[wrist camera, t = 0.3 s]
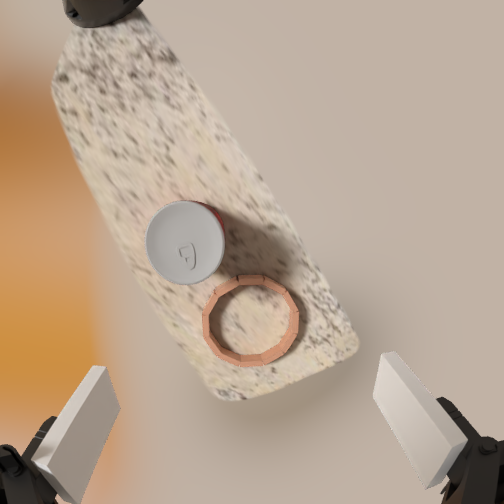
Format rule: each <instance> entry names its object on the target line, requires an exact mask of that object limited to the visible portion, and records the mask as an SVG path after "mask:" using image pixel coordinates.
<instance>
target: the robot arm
mask: <svg viewBox="0 0 504 504" xmlns="http://www.w3.org/2000/svg"><path fill="white" fill-rule="evenodd" d="M142 1H143V0H63V6H64V11H65V14H66V15H67V17H68V18H69V19H70V20H71V21H72V23H74V24H75V25H77V26H80V27H97V26H101V25H105V24H108V23H110V22H113V21H115V20H117V19H119V18H121V17H123V16H125V15H126V14H128V13H129V12H131V11H132V10H134V9H135V8H136V7H137V6H138V5H140V4H141V2H142ZM373 398H374V400H375V402H376V403H377V405H378V407H379V408H380V410H381V412H382V414H383V415H384V417H385V419H386V420H387V422H388V424H389V426H390V427H391V429H392V431H393V433H394V434H395V436H396V438H397V440H398V441H399V443H400V445H401V447H402V448H403V450H404V452H405V454H406V455H407V457H408V459H409V461H410V462H411V464H412V466H413V468H414V470H415V472H416V473H417V475H418V477H419V479H420V481H421V482H422V484H423V486H424V488H425V489H428V488H430V487H433V486H435V485H437V484H439V483H441V482H442V481H443V479H444V478H445V476H446V475H447V476H448V477H449V479H450V480H449V482H448V483H447V484H446V486H445V487H444V488H443V490H442V491H441V494H443V493H444V492H445V494H444V497H443V500H442V503H441V504H504V440H503V441H499V442H498V441H497V440H495V439H494V438H491V437H488V436H487V437H481V436H480V435H479V434H478V433H477V431H476V430H475V429H474V428H473V427H472V426H471V424H470V423H469V422H468V421H467V419H466V418H465V417H464V416H462V414H461V412H460V411H458V409H457V408H456V407H455V406H454V404H453V403H452V402H451V401H449V400H447V399H446V398H444V397H441V398H437V399H435V398H434V397H433V395H432V394H431V393H430V392H429V391H428V389H427V388H426V387H425V386H424V385H423V383H422V382H421V381H420V380H419V379H418V377H417V376H416V375H415V374H414V373H413V371H412V370H411V369H410V368H409V367H408V366H407V364H406V363H405V362H404V361H403V360H402V359H401V357H400V356H399V355H398V354H397V353H396V352H395V351H392V352H387V353H382V354H381V358H380V363H379V369H378V373H377V378H376V383H375V387H374V392H373ZM119 411H120V405H119V403H118V400H117V397H116V394H115V392H114V389H113V386H112V383H111V380H110V377H109V374H108V370H107V367H105V366H92V368H91V369H90V370H89V372H88V373H87V375H86V376H85V378H84V379H83V381H82V382H81V384H80V385H79V386H78V388H77V389H76V391H75V392H74V394H73V395H72V397H71V398H70V400H69V401H68V402H67V404H66V405H65V407H64V408H63V410H62V411H61V413H60V415H59V416H58V417H54V416H51V417H50V418H49V419H47V420H46V421H45V422H44V423H43V424H42V426H41V427H40V429H39V431H38V432H37V433H36V435H35V438H33V439H32V441H31V442H30V444H29V445H28V447H27V448H26V450H25V452H24V453H23V455H22V456H20V455H19V453H18V452H17V450H16V449H15V448H14V447H13V446H11V445H8V444H5V445H0V504H58V502H57V501H56V499H55V497H56V495H57V494H58V495H59V496H60V497H61V498H62V499H63V500H64V501H66V502H69V503H72V504H80V503H81V500H82V498H83V495H84V493H85V490H86V488H87V485H88V483H89V480H90V478H91V475H92V473H93V470H94V468H95V465H96V463H97V461H98V459H99V456H100V454H101V451H102V449H103V447H104V445H105V442H106V440H107V438H108V436H109V433H110V431H111V428H112V426H113V424H114V422H115V420H116V418H117V415H118V413H119Z"/></svg>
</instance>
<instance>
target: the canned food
mask: <svg viewBox="0 0 504 504" xmlns="http://www.w3.org/2000/svg"><path fill="white" fill-rule="evenodd" d="M145 250H146V255H147V257H148V260H149V262H150V264H151V265H152V267H153V268H154V270H155V271H156V272H157V273H158V274H159V275H160V276H162V277H163V278H164V279H166V280H168V281H170V282H172V283H175V284H179V285H193V284H197V283H200V282H202V281H204V280H206V279H207V278H209V277H210V276H211V275H212V274H213V273H214V272H215V271H216V270H217V268H218V267H219V265H220V263H221V261H222V259H223V256H224V251H225V232H224V226H223V223H222V220H221V218H220V216H219V215H218V213H217V212H216V211H215V210H214V209H213V208H211V207H210V206H209V205H207V204H204V203H202V202H197V201H187V200H182V201H176V202H172V203H169V204H167V205H165V206H164V207H162V208H161V209H159V210H158V211H157V212H156V213H155V214H154V215H153V217H152V218H151V220H150V222H149V223H148V226H147V229H146V233H145Z"/></svg>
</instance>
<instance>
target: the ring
mask: <svg viewBox="0 0 504 504" xmlns="http://www.w3.org/2000/svg"><path fill="white" fill-rule="evenodd" d="M239 285H265V286H266V287H268V288H270V289H272V290H274V291H276V292H278V293H280V294H282V295H283V297H284V299H285V300H286V302H287V304H288V306H289V307H290V319H289V329H288V330H287V332H286V333H285V335H284V336H283V338H282V339H281V341H280V342H279V344H278V345H276V346H274V347H273V348H271V349H269V350H267V351H265V352H264V353H262V354H255V355H238V354H236V353H234V352H232V351H230V350H227V349H225V348H223V347H221V345H220V344H219V343H218V341H217V340H216V338H215V337H214V336H213V334H212V333H211V331H210V322H209V314H210V312H211V310H212V309H213V307H214V305H215V303H216V302H217V300H218V298H219V297H220V296H222V295H223V294H225V293H227V292H229V291H230V290H232V289H234V288H235V287H237V286H239ZM202 323H203V337H204V340H205V341H206V342H207V344H208V345H209V347H210V348H211V349H212V351H213V352H214V353H215V355H216V356H218V358H220V359H223V360H225V361H227V362H229V363H231V364H234V365H236V366H239V365H240V367H249V366H263V364H264V365H266V364H268V363H270V362H271V361H273V360H275V359H277V358H279V357H280V356H282V355H284V353H286V352H287V350H288V349H289V347H290V346H291V344H292V343H293V341H294V340H295V338H296V336H297V334H296V333H298V324H299V311H298V308H297V307H296V305H295V303H294V301H293V300H292V298H291V296H290V294H289V293H288V291H287V290H286V288H285V287H284V286H283V285H281V284H279V283H277V282H275V281H273V280H272V279H270V278H268V277H266V276H264V275H263V277H262V275H238V279H237V277H236V276H235V277H233V278H231V279H230V280H228V281H226V282H224V283H223V284H221V285H219V286H218V287H216V288H215V289H214V290H213V292H212V294H211V296H210V297H209V299H208V301H207V303H206V305H205V306H204V308H203V313H202ZM283 352H284V353H283Z"/></svg>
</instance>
